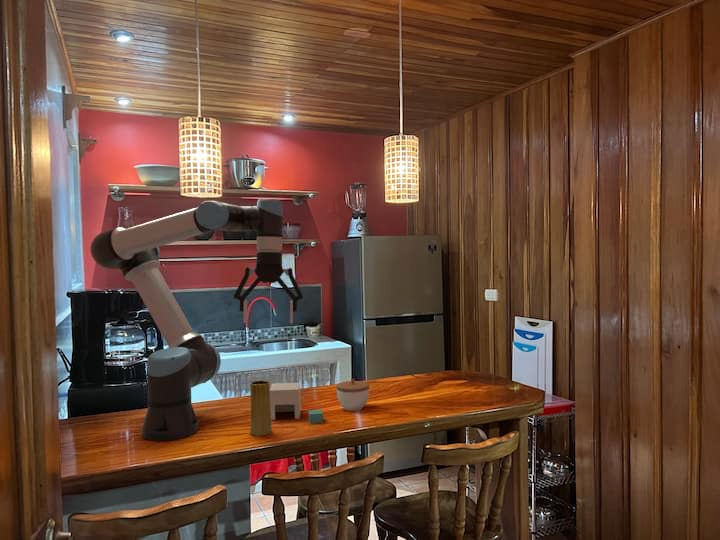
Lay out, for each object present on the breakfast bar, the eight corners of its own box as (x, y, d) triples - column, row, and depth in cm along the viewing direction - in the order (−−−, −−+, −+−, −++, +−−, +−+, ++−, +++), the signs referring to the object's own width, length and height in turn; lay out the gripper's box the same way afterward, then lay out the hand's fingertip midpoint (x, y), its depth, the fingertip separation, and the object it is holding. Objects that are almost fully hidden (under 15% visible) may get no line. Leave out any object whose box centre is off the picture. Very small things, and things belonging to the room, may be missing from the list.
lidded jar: (366, 413, 162) (365, 384, 162) (333, 412, 164) (332, 383, 164) (372, 404, 172) (371, 376, 172) (341, 403, 174) (340, 375, 174)
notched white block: (272, 411, 166) (271, 383, 166) (300, 410, 167) (300, 382, 167) (270, 419, 157) (269, 390, 157) (299, 418, 158) (299, 389, 158)
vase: (246, 435, 143) (245, 384, 143) (254, 428, 149) (253, 379, 149) (268, 436, 142) (267, 385, 142) (274, 429, 148) (273, 380, 148)
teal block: (308, 420, 157) (308, 410, 157) (321, 419, 158) (321, 409, 157) (309, 424, 153) (309, 414, 153) (323, 423, 154) (323, 413, 154)
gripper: (311, 252, 158) (310, 321, 159) (228, 250, 156) (227, 320, 156) (311, 252, 151) (310, 324, 151) (224, 250, 148) (223, 324, 149)
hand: (268, 322), depth 154 cm, fingers open, 13 cm apart
